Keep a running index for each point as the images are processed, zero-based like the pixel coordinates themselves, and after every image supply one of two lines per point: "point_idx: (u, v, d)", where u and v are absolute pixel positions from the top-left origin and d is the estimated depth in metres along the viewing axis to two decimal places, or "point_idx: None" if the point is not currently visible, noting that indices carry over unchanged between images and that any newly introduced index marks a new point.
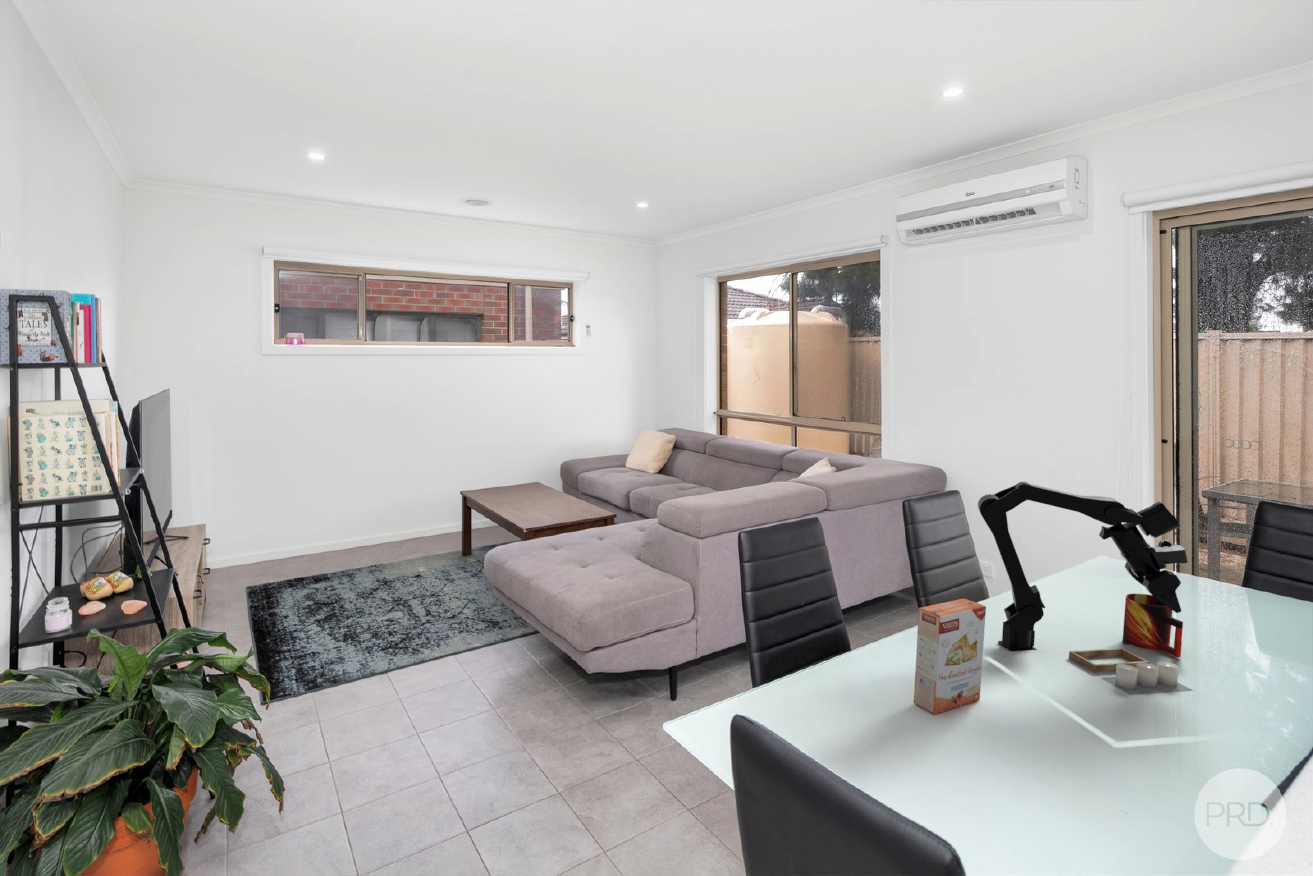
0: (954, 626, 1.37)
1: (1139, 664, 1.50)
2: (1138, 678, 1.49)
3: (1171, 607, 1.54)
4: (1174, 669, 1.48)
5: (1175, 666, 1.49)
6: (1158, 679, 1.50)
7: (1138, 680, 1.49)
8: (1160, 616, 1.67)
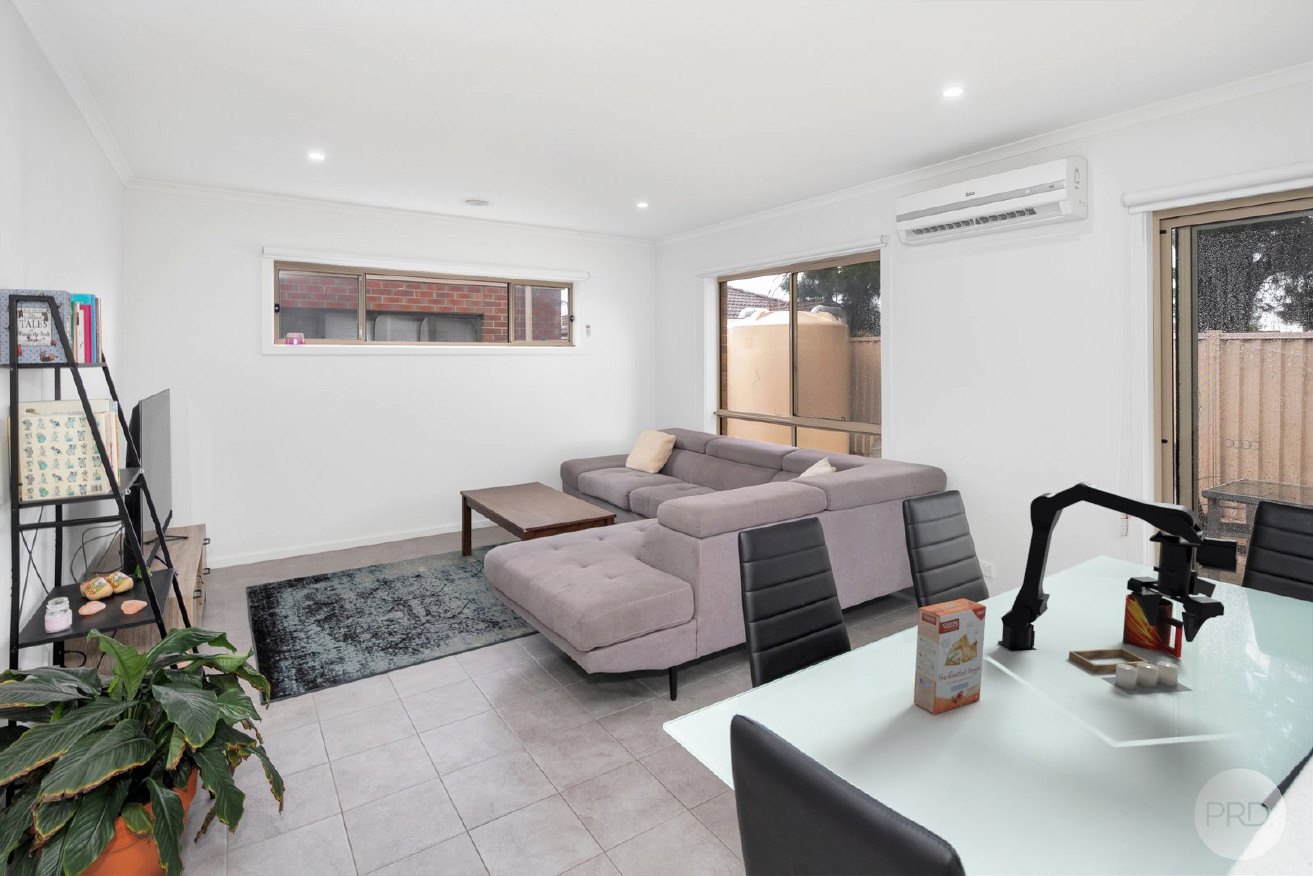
0: (954, 626, 1.37)
1: (1139, 664, 1.50)
2: (1138, 678, 1.49)
3: (1189, 635, 1.44)
4: (1174, 669, 1.48)
5: (1175, 666, 1.49)
6: (1158, 679, 1.50)
7: (1138, 680, 1.49)
8: (1161, 616, 1.67)
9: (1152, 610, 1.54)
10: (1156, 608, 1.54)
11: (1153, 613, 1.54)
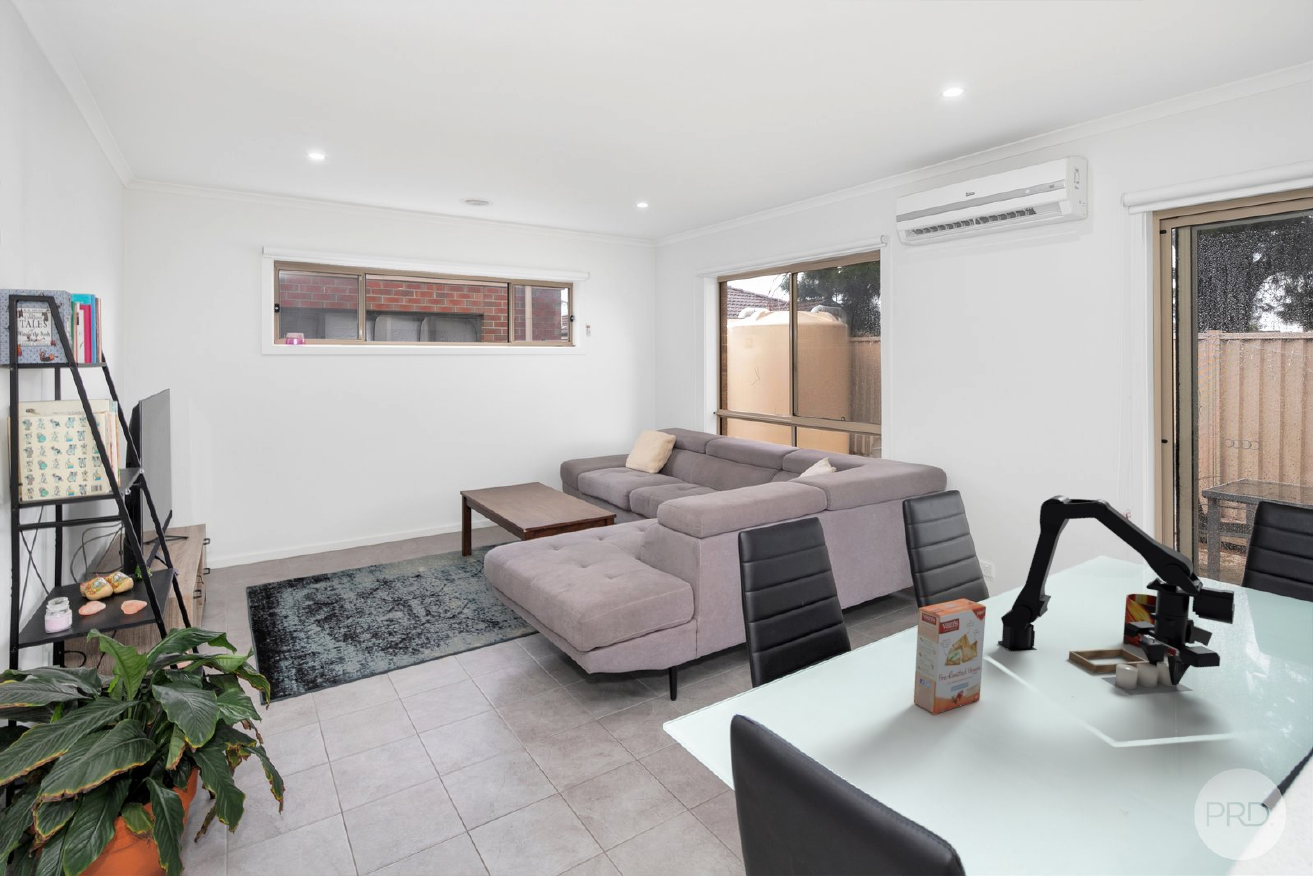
0: (954, 626, 1.37)
1: (1139, 664, 1.50)
2: (1138, 678, 1.49)
3: (1174, 678, 1.47)
4: None
5: None
6: (1158, 679, 1.50)
7: (1138, 680, 1.49)
8: None
9: (1158, 661, 1.52)
10: (1162, 658, 1.52)
11: None
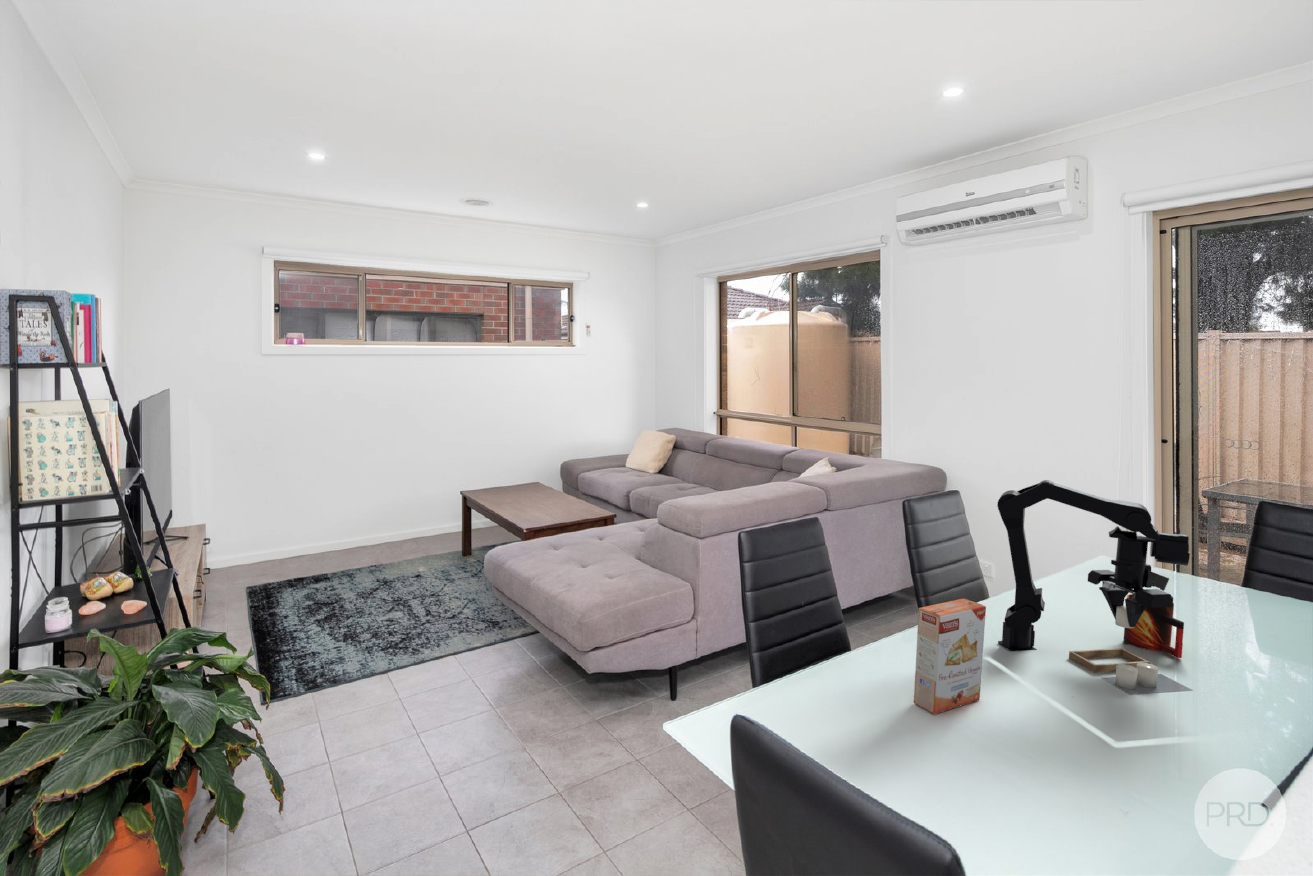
0: (954, 626, 1.37)
1: (1139, 664, 1.50)
2: (1138, 678, 1.49)
3: (1132, 620, 1.56)
4: None
5: None
6: (1117, 622, 1.59)
7: (1138, 680, 1.49)
8: (1161, 617, 1.66)
9: (1118, 605, 1.60)
10: (1122, 603, 1.60)
11: None
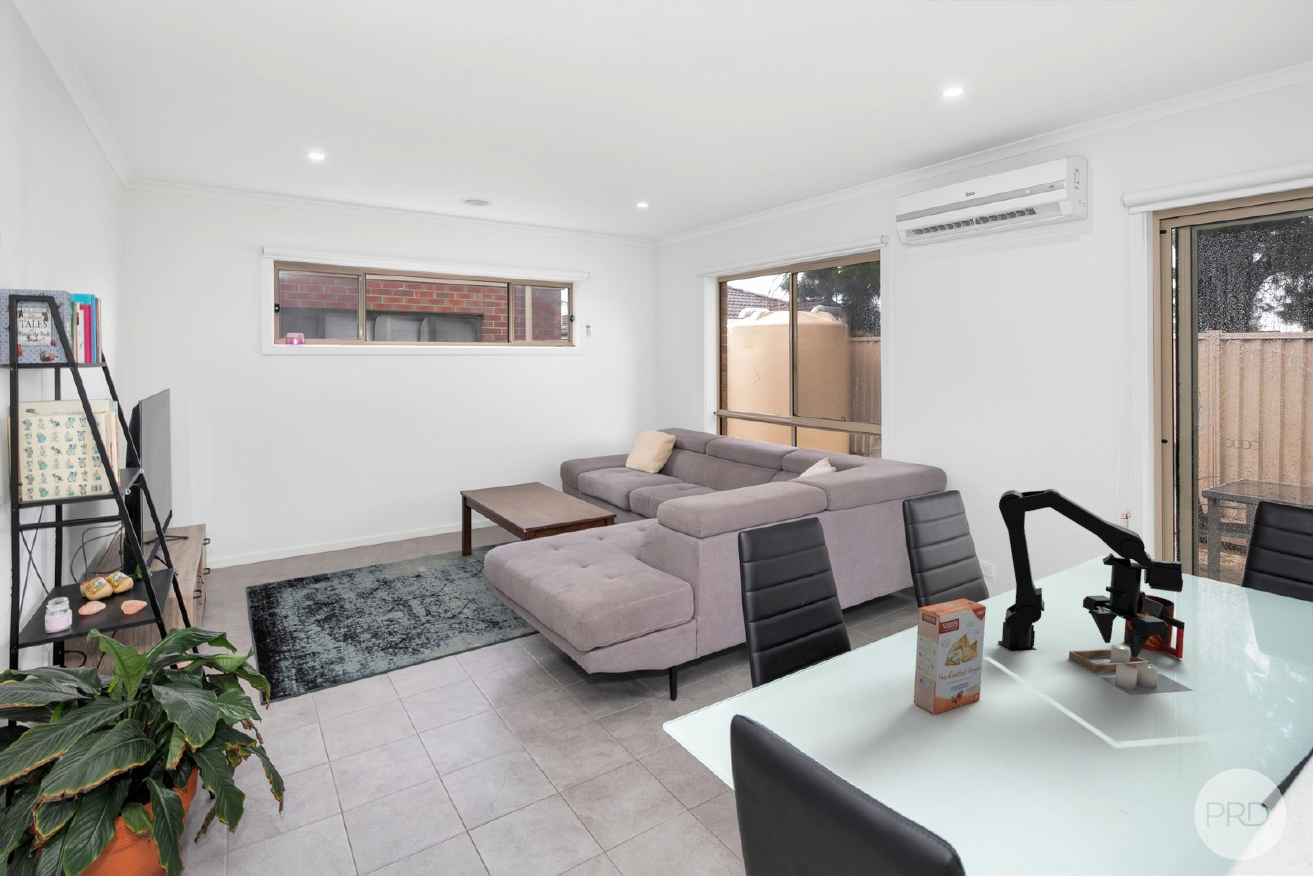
0: (954, 626, 1.37)
1: (1139, 664, 1.50)
2: (1138, 678, 1.49)
3: (1134, 650, 1.55)
4: (1126, 651, 1.58)
5: (1128, 648, 1.59)
6: (1112, 661, 1.60)
7: (1138, 680, 1.49)
8: (1162, 617, 1.66)
9: (1107, 628, 1.64)
10: (1111, 626, 1.64)
11: (1108, 631, 1.64)
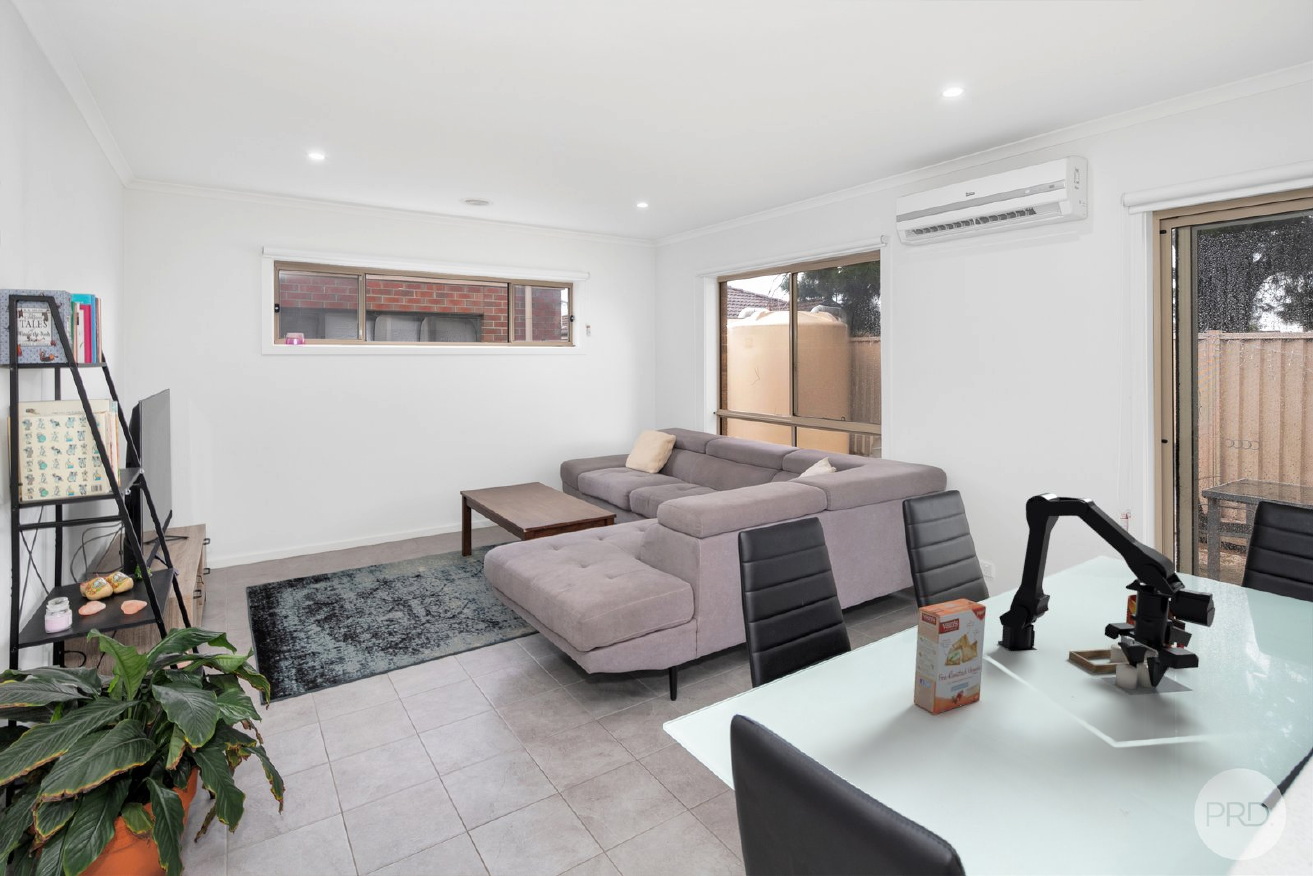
0: (954, 626, 1.37)
1: (1139, 664, 1.50)
2: (1138, 678, 1.49)
3: (1154, 679, 1.47)
4: None
5: None
6: (1112, 661, 1.60)
7: (1138, 680, 1.49)
8: None
9: (1138, 662, 1.51)
10: (1142, 660, 1.51)
11: None
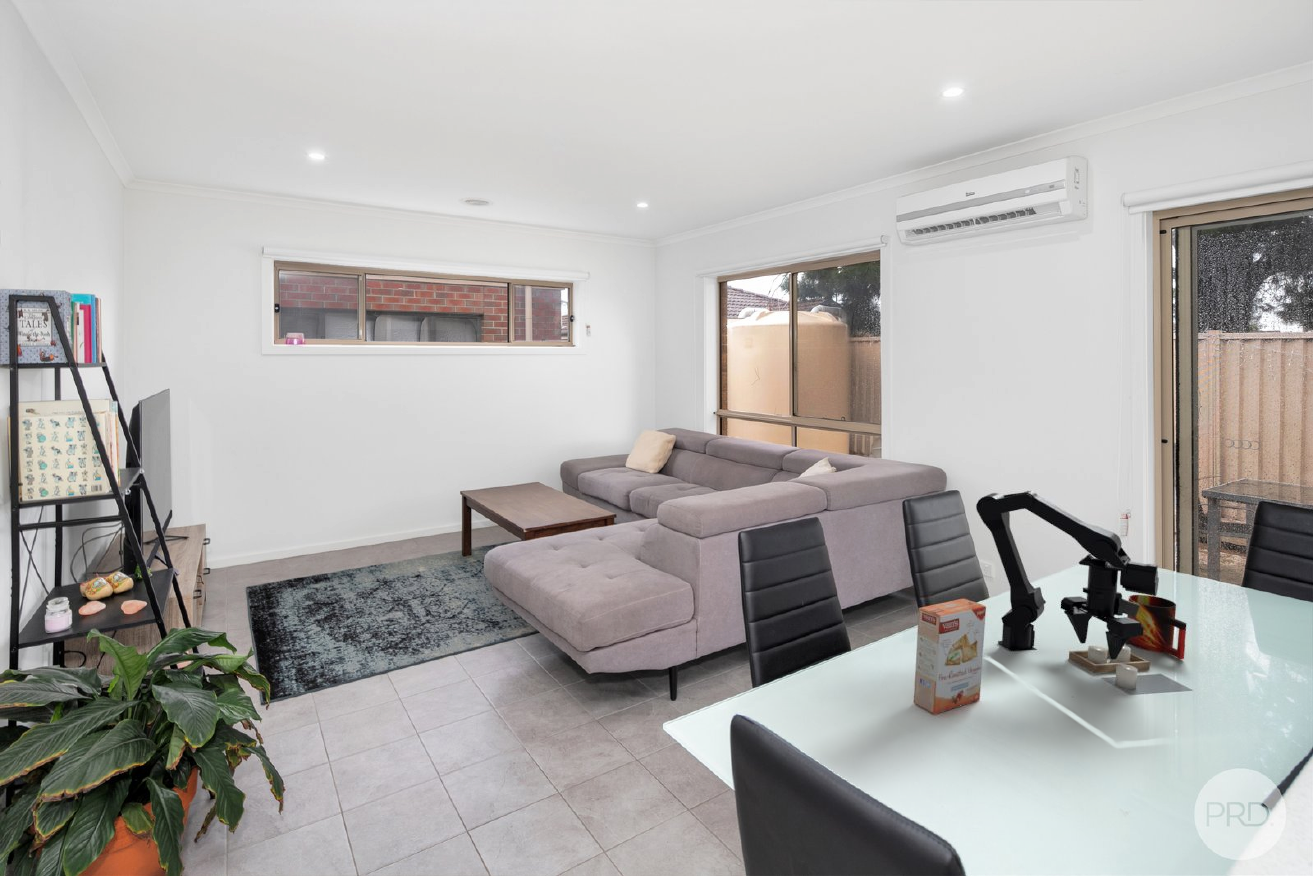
0: (955, 626, 1.37)
1: (1090, 647, 1.60)
2: (1089, 660, 1.59)
3: (1113, 653, 1.54)
4: (1128, 650, 1.58)
5: (1127, 647, 1.60)
6: (1114, 661, 1.60)
7: None
8: (1164, 618, 1.66)
9: (1083, 628, 1.63)
10: (1086, 626, 1.64)
11: (1083, 631, 1.63)
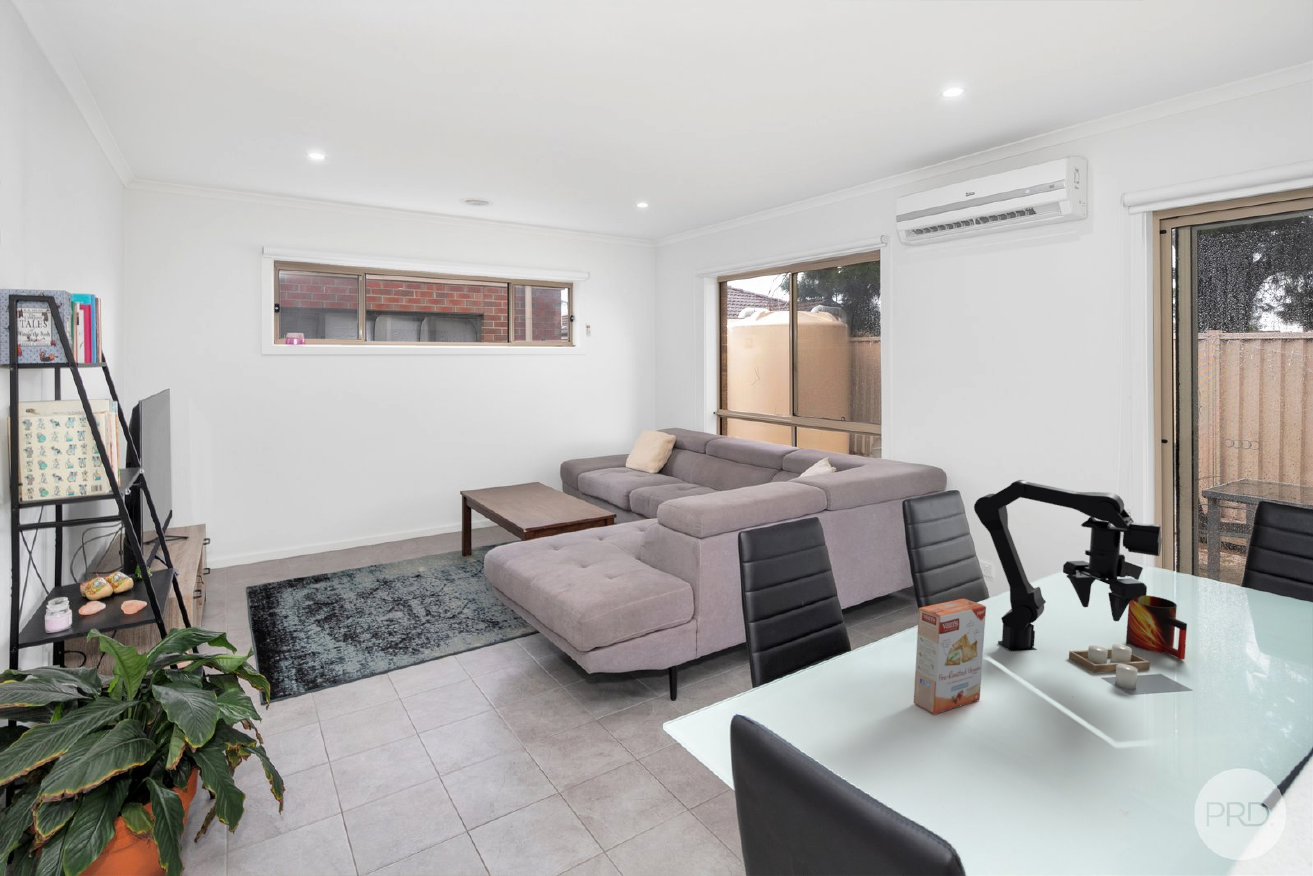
0: (955, 626, 1.37)
1: (1090, 647, 1.60)
2: (1089, 660, 1.59)
3: (1116, 614, 1.53)
4: (1130, 651, 1.58)
5: (1128, 648, 1.60)
6: (1115, 662, 1.59)
7: None
8: (1164, 618, 1.66)
9: (1085, 592, 1.63)
10: (1089, 590, 1.63)
11: (1086, 595, 1.63)
